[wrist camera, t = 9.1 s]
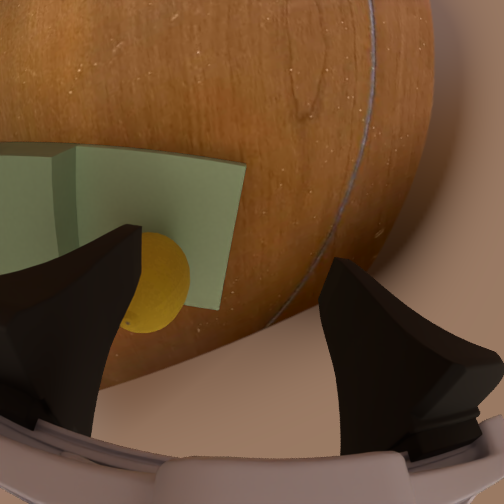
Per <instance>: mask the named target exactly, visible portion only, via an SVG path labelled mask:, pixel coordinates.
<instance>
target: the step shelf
mask: <svg viewBox="0 0 504 504" xmlns="http://www.w3.org/2000/svg"><path fill="white" fill-rule="evenodd" d="M245 171H246V164H245V163H239V162H234V161H228V160H222V159H215V158H209V157H203V156H196V155H189V154H182V153H174V152H166V151H158V150H149V149H140V148H130V147H119V146H107V145H93V144H76V143H52V142H0V275H2V274H7V273H11V272H15V271H19V270H22V269H26V268H29V267H32V266H35V265H39V264H42V263H45V262H47V261H50V260H52V259H55V258H58V257H60V256H62V255H65V254H67V253H69V252H71V251H73V250H75V249H77V248H79V247H81V246H83V245H85V244H87V243H89V242H91V241H93V240H95V239H97V238H99V237H101V236H102V235H104V234H106V233H108V232H110V231H112V230H114V229H116V228H118V227H120V226H122V225H124V224H132V225H139V226H142V233H144V232H153V233H159V234H162V235H165V236H167V237H168V238H170V239H172V240H173V241H174V242H175V243H176V244H177V245H178V246H179V247H180V248H181V249H182V251H183V252H184V254H185V256H186V258H187V261H188V264H189V268H190V286H189V290H188V294H187V298H186V300H185V303H184V305H188V306H194V307H200V308H207V309H213V310H219V307H220V301H221V296H222V290H223V285H224V279H225V274H226V268H227V263H228V258H229V252H230V247H231V242H232V237H233V231H234V226H235V221H236V216H237V211H238V206H239V201H240V196H241V191H242V186H243V181H244V176H245Z"/></svg>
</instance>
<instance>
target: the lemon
mask: <svg viewBox="0 0 504 504" xmlns="http://www.w3.org/2000/svg"><path fill="white" fill-rule="evenodd" d="M189 286H190V268H189V264H188V261H187V258H186V256H185V254H184V252H183V251H182V249H181V248H180V247H179V246H178V245H177V244H176V243H175V242H174V241H173V240H172V239H170V238H168V237H167V236H165V235H162V234H159V233H153V232H144V233H142V273H141V276H140V279H139V282H138V286H137V288H136V291H135V294H134V297H133V299H132V301H131V303H130V305H129V307H128V309H127V311H126V313H125V316H124V318H123V320H122V322H121V324H120V326H121V327H122V328H124V329H126V330H128V331H132V332H135V333H150V332H155V331H157V330H160V329H162V328H164V327H165V326H166V325H168V324H169V323H170V322H171V321H172V320H173V319H174V318H175V317H176V315H177V314H178V313H179V311H180V310H181V308H182V306H183V305H184V303H185V300H186V298H187V294H188V290H189Z"/></svg>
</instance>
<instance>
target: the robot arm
mask: <svg viewBox="0 0 504 504" xmlns="http://www.w3.org/2000/svg"><path fill="white" fill-rule="evenodd" d="M141 273H142V226H139V225H132V224H124V225H122V226H120V227H118V228H116V229H114V230H112V231H110V232H108V233H106V234H104V235H102V236H101V237H99V238H97V239H95V240H93V241H91V242H89V243H87V244H85V245H83V246H81V247H79V248H77V249H75V250H73V251H71V252H69V253H67V254H65V255H62V256H60V257H58V258H55V259H52V260H50V261H47V262H45V263H42V264H39V265H35V266H32V267H29V268H26V269H22V270H19V271H15V272H11V273H7V274H2V275H0V488H2V489H4V490H5V491H7V492H9V493H10V494H12V495H14V496H16V497H18V498H20V499H21V500H23V501H25V502H27V503H29V504H470V503H471V502H472V501H473V499H474V498H475V496H476V495H477V494H478V493H480V492H482V491H484V490H485V489H487V488H489V487H490V486H492V485H493V484H495V483H497V482H498V481H500V480H501V479H503V478H504V419H503V417H502V415H497V416H494V417H492V418H489V419H486V420H484V421H482V422H481V423H480V424H478V422H477V420H476V417H478V416H479V415H480V411H479V409H478V407H477V406H478V405H479V404H480V403H481V402H482V401H483V400H484V399H485V398H486V397H487V396H488V395H489V394H490V392H492V390H494V388H495V387H496V386H497V385H498V384H499V382H500V381H501V379H502V377H503V375H504V363H503V361H502V360H501V358H500V356H499V355H498V354H497V353H496V352H494V351H492V350H489V349H486V348H483V347H481V346H478V345H475V344H473V343H470V342H468V341H466V340H464V339H462V338H459V337H457V336H455V335H453V334H451V333H449V332H447V331H445V330H444V329H442V328H440V327H438V326H437V325H435V324H433V323H432V322H430V321H429V320H427V319H425V318H424V317H422V316H421V315H419V314H418V313H416V312H415V311H414V310H412V309H411V308H409V307H408V306H407V305H405V304H404V303H403V302H401V301H400V300H399V299H398V298H396V297H395V296H394V295H393V294H391V293H390V292H389V291H388V290H387V289H385V288H384V287H383V286H382V285H381V284H379V283H378V282H377V281H376V280H375V279H374V278H372V277H371V276H370V275H369V274H368V273H366V272H365V271H364V270H363V269H362V268H360V267H359V266H358V265H356V264H355V263H354V262H352V261H351V260H349V259H343V258H337V257H334V260H333V263H332V265H331V268H330V271H329V273H328V276H327V278H326V281H325V283H324V286H323V289H322V291H321V294H320V296H319V298H318V302H319V311H320V317H321V323H322V327H323V330H324V334H325V338H326V342H327V345H328V349H329V352H330V356H331V360H332V363H333V367H334V372H335V376H336V383H337V391H338V400H339V412H340V431H341V433H340V434H341V451H340V452H341V453H340V456H332V457H317V458H296V459H295V458H290V459H268V458H267V459H266V458H265V459H264V458H241V457H209V456H191V457H184V458H178V457H171V456H166V455H160V454H154V453H150V452H145V451H140V450H136V449H131V448H127V447H123V446H119V445H115V444H112V443H108V442H104V441H101V440H97V439H94V438H91V432H92V425H93V418H94V412H95V407H96V401H97V396H98V391H99V387H100V383H101V379H102V375H103V371H104V367H105V364H106V360H107V357H108V354H109V350H110V347H111V345H112V342H113V340H114V337H115V335H116V333H117V331H118V328H119V326H120V324H121V322H122V320H123V318H124V316H125V313H126V311H127V309H128V307H129V305H130V303H131V301H132V299H133V297H134V294H135V291H136V288H137V286H138V282H139V279H140V276H141Z"/></svg>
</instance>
